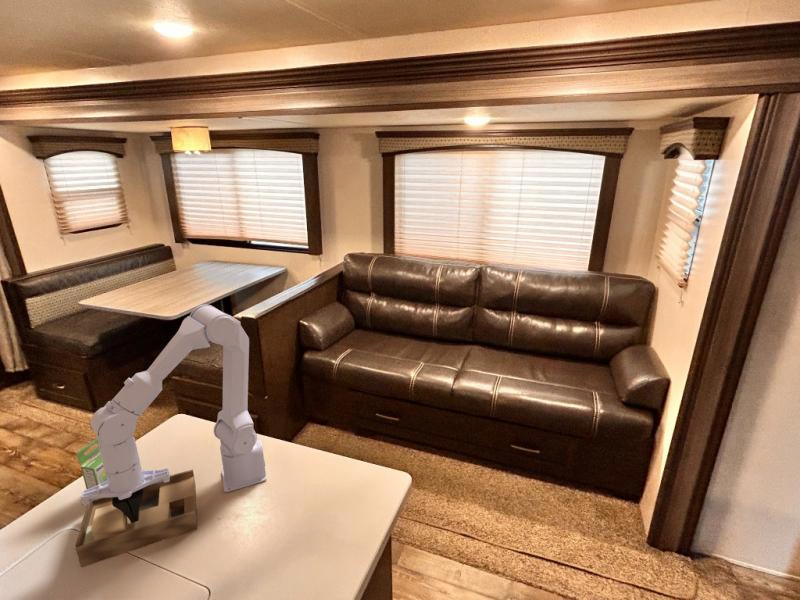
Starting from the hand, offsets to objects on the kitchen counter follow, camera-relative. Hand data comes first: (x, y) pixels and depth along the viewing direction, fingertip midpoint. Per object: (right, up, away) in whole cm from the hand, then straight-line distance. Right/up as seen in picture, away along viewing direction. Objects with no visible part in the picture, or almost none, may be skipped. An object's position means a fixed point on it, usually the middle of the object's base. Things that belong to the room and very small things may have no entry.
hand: (135, 518), depth 85 cm
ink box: (-14, 0, +12) cm, 18 cm away
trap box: (-1, -3, +4) cm, 5 cm away
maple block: (-4, -1, -1) cm, 4 cm away
